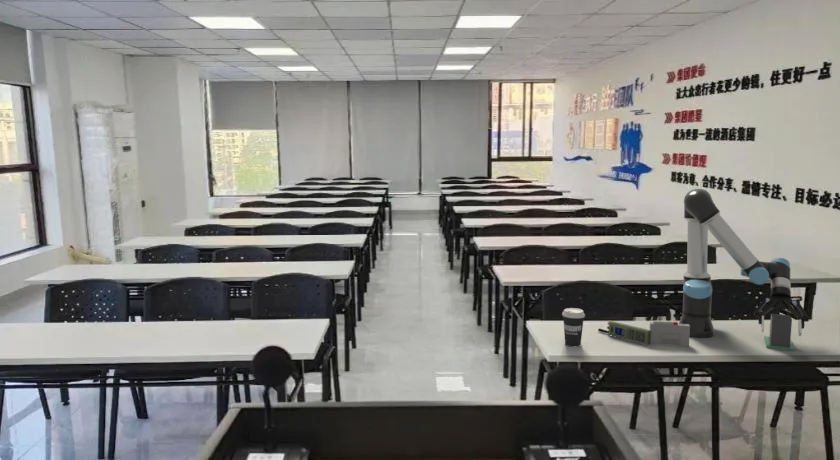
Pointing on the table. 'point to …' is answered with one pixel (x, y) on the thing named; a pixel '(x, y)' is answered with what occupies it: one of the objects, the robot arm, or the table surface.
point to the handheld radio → (628, 332)
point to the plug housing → (780, 330)
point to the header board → (778, 346)
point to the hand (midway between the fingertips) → (781, 332)
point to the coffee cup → (573, 326)
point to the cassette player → (669, 333)
